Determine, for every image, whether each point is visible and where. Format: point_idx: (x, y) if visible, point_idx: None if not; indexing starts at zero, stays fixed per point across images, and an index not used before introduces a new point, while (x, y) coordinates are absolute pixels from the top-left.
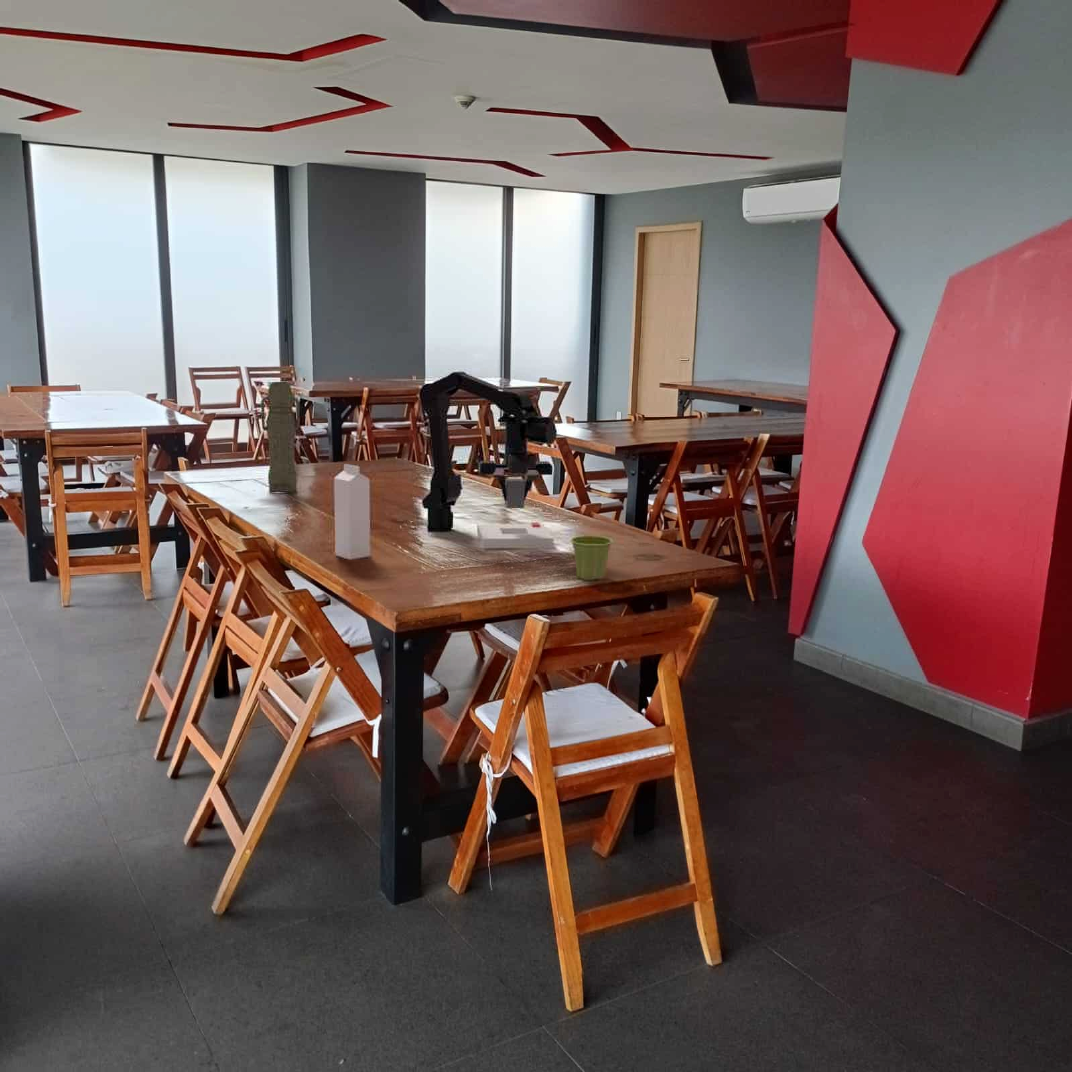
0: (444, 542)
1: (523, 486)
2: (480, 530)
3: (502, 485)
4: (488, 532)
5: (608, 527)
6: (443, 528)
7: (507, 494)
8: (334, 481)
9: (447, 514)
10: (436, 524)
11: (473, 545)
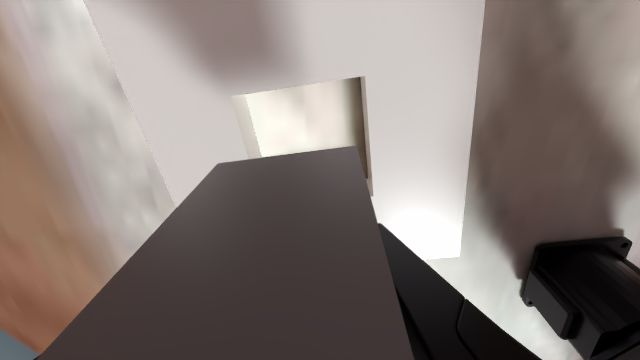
0: (626, 59)
1: (91, 321)
2: (466, 144)
3: (484, 345)
4: (434, 102)
5: (54, 329)
6: (571, 252)
7: (367, 208)
8: None
9: (595, 304)
10: (612, 261)
11: (500, 8)
